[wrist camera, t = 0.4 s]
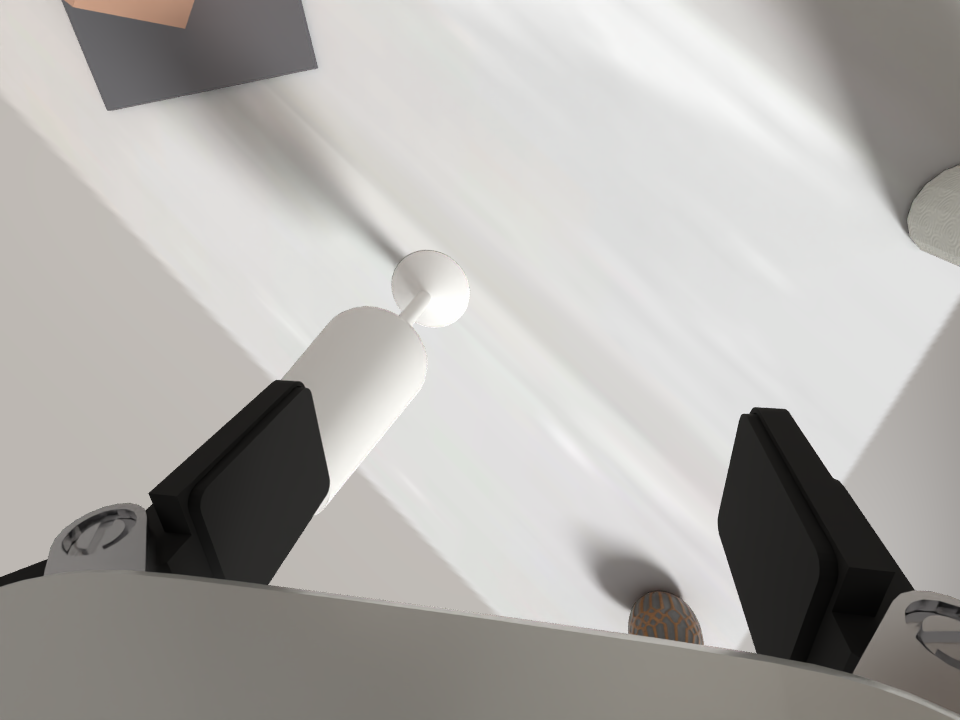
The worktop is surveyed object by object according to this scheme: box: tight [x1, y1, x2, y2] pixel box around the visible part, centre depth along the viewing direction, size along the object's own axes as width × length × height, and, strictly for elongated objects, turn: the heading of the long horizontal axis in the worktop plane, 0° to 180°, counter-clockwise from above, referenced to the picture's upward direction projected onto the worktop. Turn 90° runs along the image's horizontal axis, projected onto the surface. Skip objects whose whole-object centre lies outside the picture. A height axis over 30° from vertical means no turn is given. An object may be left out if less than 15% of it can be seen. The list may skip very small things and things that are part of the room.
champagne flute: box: [281, 250, 470, 516], centre depth 32 cm, size 7×7×24 cm
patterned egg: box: [628, 591, 704, 645], centre depth 49 cm, size 7×7×9 cm
